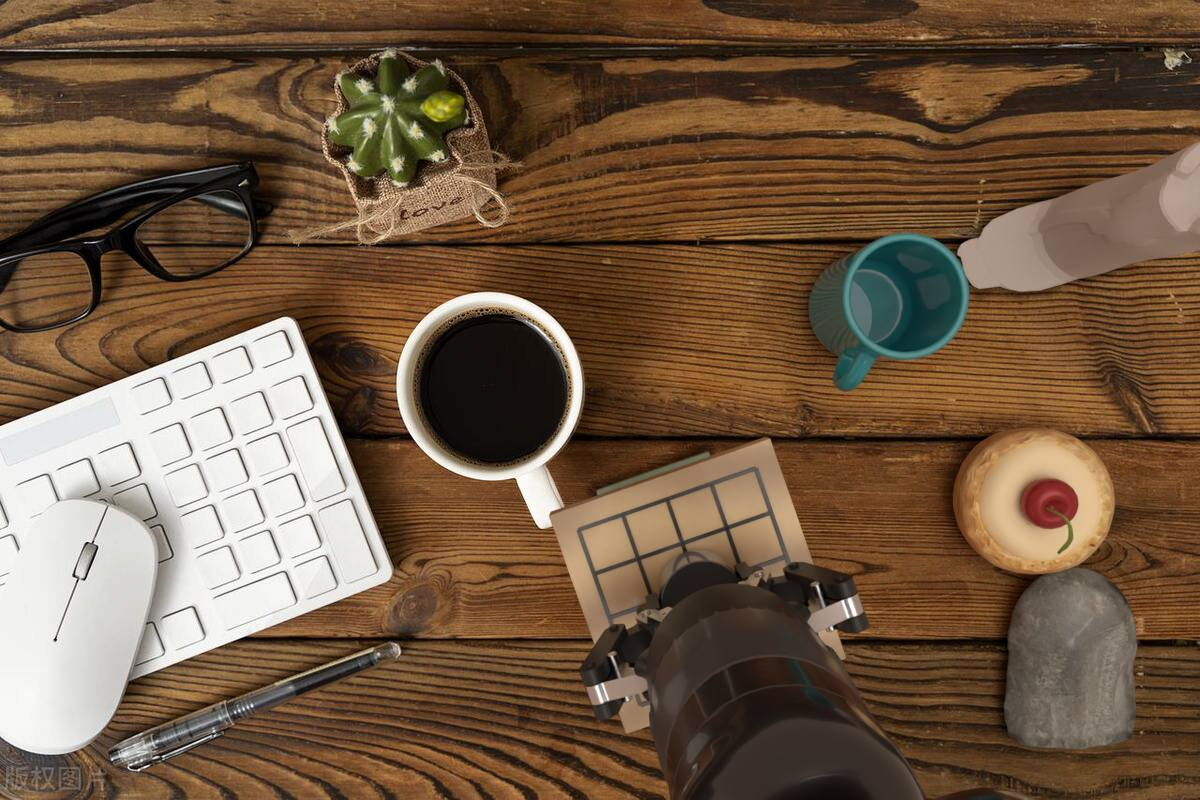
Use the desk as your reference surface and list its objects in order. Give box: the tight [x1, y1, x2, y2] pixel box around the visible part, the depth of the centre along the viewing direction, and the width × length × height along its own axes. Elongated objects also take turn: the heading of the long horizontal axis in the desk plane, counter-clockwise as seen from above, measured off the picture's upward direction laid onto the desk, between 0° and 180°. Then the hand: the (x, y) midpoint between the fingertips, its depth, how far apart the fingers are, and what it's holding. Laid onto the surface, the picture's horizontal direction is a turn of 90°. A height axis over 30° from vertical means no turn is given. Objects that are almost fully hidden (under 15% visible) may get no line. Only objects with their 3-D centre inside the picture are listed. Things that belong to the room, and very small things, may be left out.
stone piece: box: [658, 550, 741, 610], centre depth 49 cm, size 5×5×3 cm
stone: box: [1003, 566, 1138, 751], centre depth 71 cm, size 11×4×15 cm
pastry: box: [952, 427, 1116, 575], centre depth 68 cm, size 12×12×9 cm
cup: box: [807, 232, 970, 393], centre depth 66 cm, size 9×12×11 cm
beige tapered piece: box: [957, 140, 1200, 293], centre depth 62 cm, size 7×14×20 cm, turn 106°
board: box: [548, 436, 847, 735], centre depth 62 cm, size 14×14×22 cm
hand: (701, 594), depth 49 cm, fingers closed on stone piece, 4 cm apart
